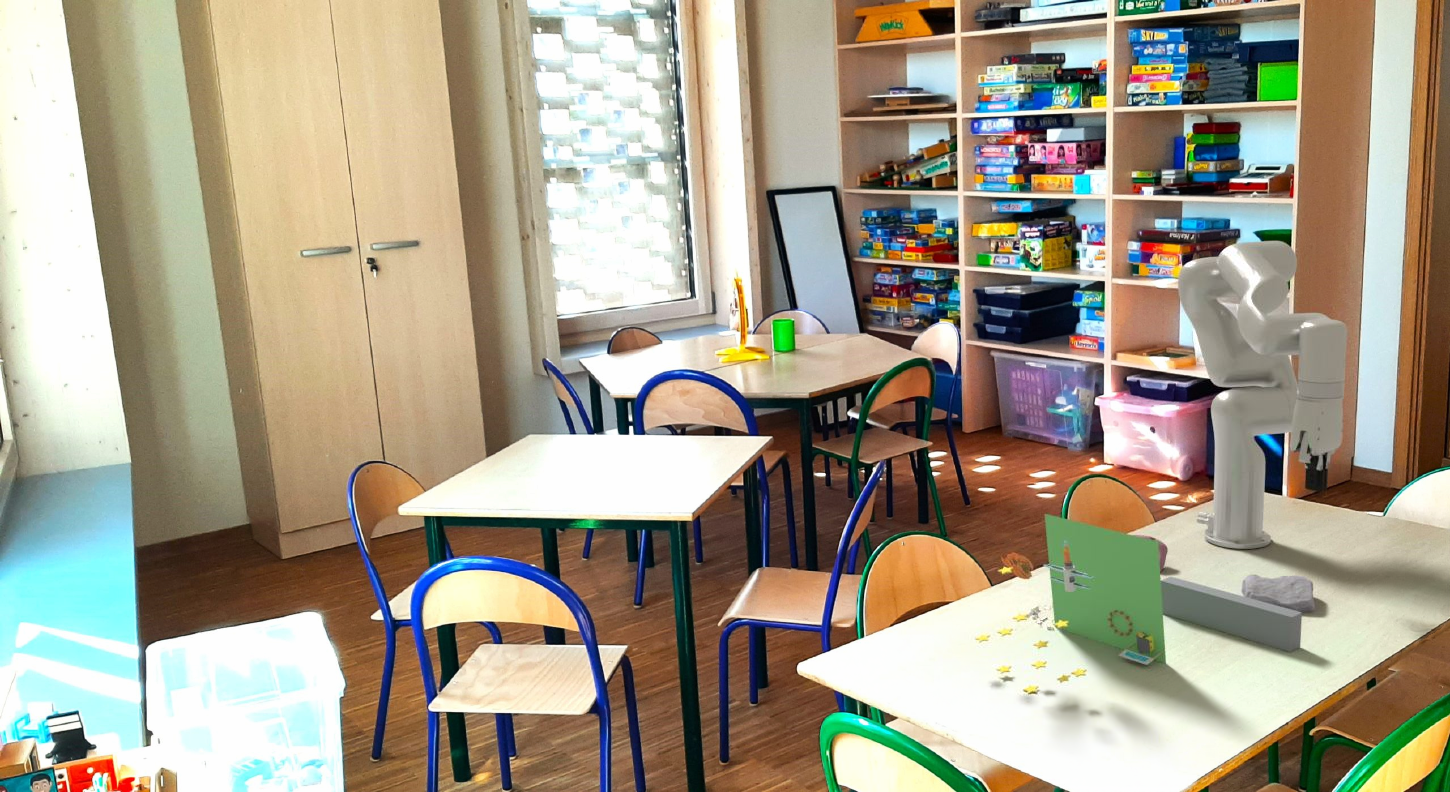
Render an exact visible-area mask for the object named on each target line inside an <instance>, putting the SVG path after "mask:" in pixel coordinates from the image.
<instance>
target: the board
mask: <svg viewBox="0 0 1450 792" xmlns="http://www.w3.org/2000/svg"><path fill="white" fill-rule="evenodd" d="M1161 594H1162V609H1163V615H1165V616H1168V617H1173V618H1175V619H1180V620H1182V621H1185V622H1186V621H1187V622H1189V623H1193V624H1196V625H1200V626H1202V627H1206V628H1209V629H1212V630H1216V631H1219V632H1222V633H1225V634H1228V635H1233V636H1235V637H1239V638H1242V639H1245V640H1249V641H1252V642H1256V643H1259V644H1262V645H1266V646H1269V647H1272V648H1275V649H1278V650H1282V651H1285V652H1289V653H1292V652H1294V651H1296V650H1298V649H1299V648H1301V642H1302V641H1301V640H1302V639H1301V637H1302V621H1303V619H1302V618H1303V615H1302V614H1303V612H1298V611H1295V610H1291V609H1288V608H1284V607H1280V606H1277V605H1273V604H1269V603H1266V602H1262V601H1258V600H1255V599H1251V598H1247V597H1245V596H1244V595H1239V594H1237V593H1236V594H1235V593H1232V592H1229V591H1225V590H1222V589H1217V588H1214V587H1211V586H1206V585H1203V584H1199V583H1195V582H1191V581H1188V580H1185V579H1181V578H1177V577H1174V576H1168V577H1167V578H1163V579H1161Z"/></svg>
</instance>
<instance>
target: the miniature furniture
mask: <svg viewBox="0 0 1450 792" xmlns="http://www.w3.org/2000/svg"><path fill="white" fill-rule="evenodd" d="M1051 604H1052V606H1049V607H1048V606H1047V605H1046V604H1045V605H1044V607H1043V609H1044V610H1047V609H1048V610H1051V609H1053V601H1052V603H1051ZM1041 611H1042V610H1040V605H1038V604H1036V605H1035V606H1033V607H1031V608H1030V612H1029V613H1028V616H1027V617H1026V618H1029V617H1030V616H1032V619H1033V620H1034V619H1035V620H1036V618H1038V617H1039V615H1040V614H1042V612H1041ZM1034 614H1035V615H1034ZM1048 619H1049V618H1048V616H1046V615H1045V616H1044V617H1041V618H1040V620H1039V621H1037V624H1038V625H1039V626H1040V627H1041V626H1043V625H1042V623H1043V622H1044V621H1046V620H1048ZM1051 622H1052V623H1053V624H1054V621H1051ZM1046 629H1047V630H1051V631H1054V627H1053V626H1051V625H1046Z"/></svg>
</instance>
